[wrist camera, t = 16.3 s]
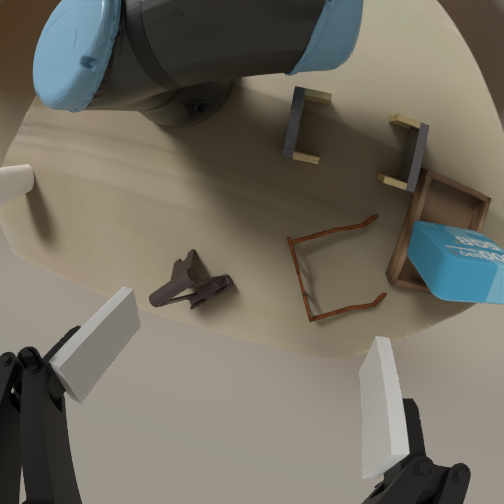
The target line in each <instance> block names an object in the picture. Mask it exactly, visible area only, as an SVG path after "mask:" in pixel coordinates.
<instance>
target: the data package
mask: <svg viewBox="0 0 504 504" xmlns="http://www.w3.org/2000/svg"><path fill="white" fill-rule="evenodd" d="M407 255H408V257H409V259H410V260H411V262H412V263H413V264H414V266H415V268H416V269H417V271H418V272H419V274H420V275H421V277H422V278H423V280H424V281H425V283H426V285H427V286H428V288H429V289H430V291H431V293H432V294H433V295H435V296H436V297H438V298H439V299H442V300H445V301H456V302H472V303H490V304H504V250H503V249H502V248H500V247H499V246H498V245H496V244H495V243H494V242H493V241H491V240H490V239H489V238H487V237H486V236H485V235H483V234H481V233H479V232H477V231H473V230H468V229H463V228H458V227H453V226H447V225H442V224H436V223H430V222H425V221H415V222H414V225H413V230H412V235H411V239H410V244H409V248H408V252H407Z"/></svg>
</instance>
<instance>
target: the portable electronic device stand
mask: <svg viewBox="0 0 504 504" xmlns="http://www.w3.org/2000/svg"><path fill="white" fill-rule="evenodd" d="M194 253H195V250H194V249H192V250H191V251H190V252H188V255H187V258H186V259H185V260H184V261H183V262H181V259H179V260H177V261H176V262H175V263H174V267H173V272H172V276H171V281H169V282H168V283H166V284H165V285H164V286H162V287H161V288H159V289H158V290H156V291H155V292H154V293H152V294H151V295H150V296H149V301H150V303H151V305H152V306H154V307H161V306H164V305H168V304H171V303H175V302H179V301H182V300H189V301H190V303H191V307H190V309H191V310H192V309H193V308H195V307H197V306H199V305H200V304H202V303H204V302H205V301H206V300H208V299H210V298H211V297H213V296H216V295H218V294H220V293H222V292H223V291H225V290H227V289H229V288H230V287H231V286H232V285H233V281H232V279H231V277H230V276H229V275H222V276H217V277H212V278H207V279H201V278H200V277H199V276H198V274H197V272H196V271H195V270H194V269H193V268H192V264H193V259H194ZM209 283H211V284H210V285H208V286H206V287H205V288H203V289H201V290H200V291H198V292H196V293H193V294H189V295H185V296H181V297H177V298H173V297H175V296H176V295H178V294H179V293H181V292H182V291H184V290H186V289H187V288H192V287H196V286H201V285H205V284H209ZM171 298H173V299H171Z"/></svg>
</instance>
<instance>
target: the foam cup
mask: <svg viewBox="0 0 504 504" xmlns="http://www.w3.org/2000/svg"><path fill="white" fill-rule="evenodd" d="M33 185H34V173H33V170H32V168H31V166H30V165H18V166H9V167H1V168H0V208H1V207H3V206H5V205H6V204H8V203H10V202H11V201H13V200H15V199H16V198H18V197H20V196H22V195H24V194H25V193H27V192H29V191H30V190H31V189H32V188H33Z"/></svg>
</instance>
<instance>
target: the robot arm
mask: <svg viewBox="0 0 504 504" xmlns="http://www.w3.org/2000/svg"><path fill="white" fill-rule="evenodd" d="M362 12H363V0H62V1H61V2H60V3H59V5H58V6H57V7H56V9H55V10H54V11H53V13H52V14H51V16H50V18H49V19H48V21H47V23H46V25H45V27H44V29H43V31H42V33H41V36H40V38H39V41H38V45H37V48H36V52H35V57H34V64H33V80H34V86H35V90H36V93H37V95H38V97H39V98H40V99H41V101H42V103H43V104H44V105H45V106H47V107H48V108H51V109H54V110H68V111H71V112H73V113H74V112H80V111H82V110H122V111H138V112H140V113H141V114H142V115H144V116H145V117H146V118H148V119H149V120H151V121H153V122H155V123H157V124H161V125H165V126H188V125H193V124H196V123H198V122H201V121H203V120H205V119H206V118H208V117H209V116H211V115H212V114H214V113H215V112H216V111H217V110H218V109H219V108H220V107H221V106H222V105H223V103H224V102H225V101H226V99H227V98H228V96H229V94H230V92H231V90H232V87H233V85H234V81H235V78H240V77H247V76H255V75H264V74H275V73H285V75H294V74H297V73H298V72H309V71H327V70H332V69H335V68H337V67H339V66H340V65H341V64H343V63H345V62H346V61H347V60H348V58H349V57H350V55H351V54H352V52H353V50H354V47H355V45H356V42H357V39H358V35H359V31H360V26H361V20H362ZM140 326H141V324H140V319H139V314H138V309H137V304H136V298H135V293H134V289H132V288H128V287H125V286H123V287H122V288H121V289H120V290H119V291H118V292H117V293H116V294H114V295H113V296H112V297H111V298H110V299H109V300H108V301H107V302H106V303H105V304H104V305H103V306H102V307H101V308H100V309H99V310H98V311H97V312H96V313H95V314H94V315H93V316H92V317H91V318H90V319H89V320H88V321H87V322H86V323H85V324H84V325H83V326H82V327H81V326H76V327H74V328H72V329H71V330H69V331H68V333H66V334H65V336H64V337H62V339H61V340H60V341H59V342H57V344H56V345H55V346H54V347H53V348H52V349H51V350H50V351H49V352H48V353H47V354H46V355H45V356H44V357H43V358H41V356H40V354H39V352H38V351H37V349H36V348H34V347H25V348H23V349H22V350H20V352H19V353H18V355H17V358H16V356H15V355H14V354H13V353H12V352H6V353H4V354H2V355H1V356H0V504H19V494H20V478H21V468H23V477H24V484H25V491H26V501H24V502H23V503H22V504H82V501H81V498H80V494H79V490H78V486H77V482H76V477H75V472H74V468H73V462H72V457H71V451H70V445H69V438H68V429H67V420H66V409H65V398H64V395H63V394H64V392H65V391H67V393H68V395H69V396H70V398H72V399H74V400H75V401H77V402H79V403H82V402H83V400H84V399H85V398H86V396H87V395H88V394H89V392H90V391H91V390H92V388H93V387H94V385H95V384H96V383H97V382H98V380H99V379H100V378H101V376H102V375H103V374H104V372H105V371H106V370H107V368H108V367H109V366H110V364H111V363H112V362H113V361H114V359H115V358H116V357H117V355H118V354H119V353H120V352H121V350H122V349H123V348H124V346H125V345H126V344H127V342H129V340H130V339H131V338H132V336H133V335H134V334H135V333H136V331H137V330H138V329H139V327H140ZM359 379H360V394H361V414H362V478H378V477H380V476H381V475H383V474H384V480H383V481H382V482H380V483H379V484H377V485H376V486H375V488H376V489H375V490H374V491H373V492H372V493H371V494H370V495H369V496H368V498H367V499H366V500H365V501H364V502H363V503H362V504H463V502H464V499H465V495H466V492H467V489H468V485H469V481H470V476H471V475H470V474H471V473H470V469H469V468H468V466H467V465H465V464H463V463H458V464H455V465H454V466H452V467H451V468H449V467H444V466H438V465H435V464H433V462H432V460H431V459H430V458H428V457H427V456H426V453H425V446H424V439H423V434H422V427H421V421H420V419H419V417H420V416H419V411H418V407H417V405H416V404H415V402H414V400H413V399H402V395H401V390H400V385H399V380H398V375H397V370H396V365H395V361H394V356H393V352H392V348H391V343H390V339H389V338H388V337H379V336H376V337H375V339H374V341H373V343H372V346H371V348H370V350H369V352H368V354H367V356H366V358H365V360H364V362H363V364H362V366H361V368H360V370H359ZM12 387H13V389H14V392H13V393H11V390H12Z"/></svg>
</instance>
